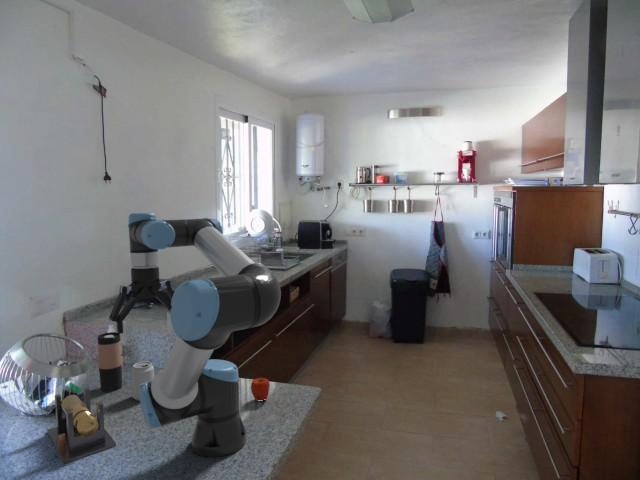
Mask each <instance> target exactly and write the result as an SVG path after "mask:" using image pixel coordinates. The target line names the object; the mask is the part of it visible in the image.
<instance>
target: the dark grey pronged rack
mask: <svg viewBox="0 0 640 480" xmlns="http://www.w3.org/2000/svg"><path fill="white" fill-rule="evenodd" d="M90 390H91V389H90V388H89V386H85V387H83V390H82V391H83V404H84V405H85V406H86V407H87V409H88V410H89V411H90V412H91V413H92V411H91V410H92V409H91V394H90V393H91V391H90ZM54 403H55V404H54V406H55V418H56V420H55V421H56V426H55V427H51V428H49V429H47V430H46V432H47V434H48V436H49V438H50V439H51V442H52V444H53V445H54V448H55V447H56V448H55V450H56V451H57V453H58V455H59V457H60V458H61V460H62V462H63V464H64V465H65V464H68V463H71V462H74V461H76V460H81V459H82V458H85V457H88V456H91V455H94V454H96V453H100V452H102V451H103V452H104V451H106V450H109V449H111V448H114V447H116V446H117V442H116V441H115V440H114V439H113V438H112V436H111V434H109V432H108V431H107V430H106V429H105V414H104V413H105V412H104V403H103V402H102V401H99V402H96V417H97V418H96V417H95V415H93V416H94V417H95V418H96V420H97V421H98V424H99V426H98V429H97V431H96V432H95V433H94V434H92V435H91V436H87V437H85V436H82V435H80V433H79V432H78V430H77V429H76V428H75V426H74V425H73V413H72V411H71V410H70V411H67V412H66V413H65V415H63V409H62V406H61V404H62V395H60V394H59V393H58V394H55V395H54Z"/></svg>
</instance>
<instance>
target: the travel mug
mask: <svg viewBox="0 0 640 480" xmlns="http://www.w3.org/2000/svg"><path fill="white" fill-rule="evenodd" d="M97 352H98V355H97V356H98V372H99V381H100V382H99V383H100V389H101V390H100V391H101V392H103V393H111V392H115V391H118V390H121V389H122V387H123V360H122V359H123V358H122V346H121V334H119V333H118V332H117V331H116V332H114V331H113V332H106V333H105V332H104V333H101V334H98V335H97Z"/></svg>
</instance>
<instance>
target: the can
mask: <svg viewBox="0 0 640 480" xmlns="http://www.w3.org/2000/svg"><path fill="white" fill-rule="evenodd" d="M130 375H131V377H130V378H131V379H130V380H131V398H133V399H134V400H136V401H137V402H140V397H139V387H140V385H141V384H143V383H145V382H147V381H148V382H150V381H152V380H153V378H154V376H155V367H154V366H153V363H152V362H151V361H146V360H145V361H139V362H136V363H134V364H133V365H132V368H131V369H130Z"/></svg>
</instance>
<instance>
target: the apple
mask: <svg viewBox="0 0 640 480" xmlns="http://www.w3.org/2000/svg"><path fill="white" fill-rule="evenodd" d="M269 380H270V379H267V378H266V377H257V378H255V379H253V380H252V381H251V383H250V389H251V393H252V396H253V398H254V399H255V400H256V399H257V400H264V399H266V400H267V399H268V396H269V391H270V382H271V381H269ZM257 400H256V401H257Z"/></svg>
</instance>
